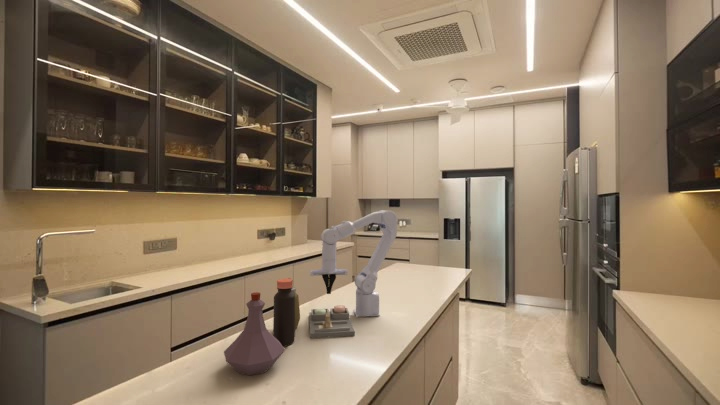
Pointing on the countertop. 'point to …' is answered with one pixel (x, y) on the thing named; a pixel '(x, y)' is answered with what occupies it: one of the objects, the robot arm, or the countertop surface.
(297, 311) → the squeeze bottle
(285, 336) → the vinegar
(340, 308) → the pink button
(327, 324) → the tan wooden step block
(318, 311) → the mint button
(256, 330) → the flask
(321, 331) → the panel
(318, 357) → the countertop surface
